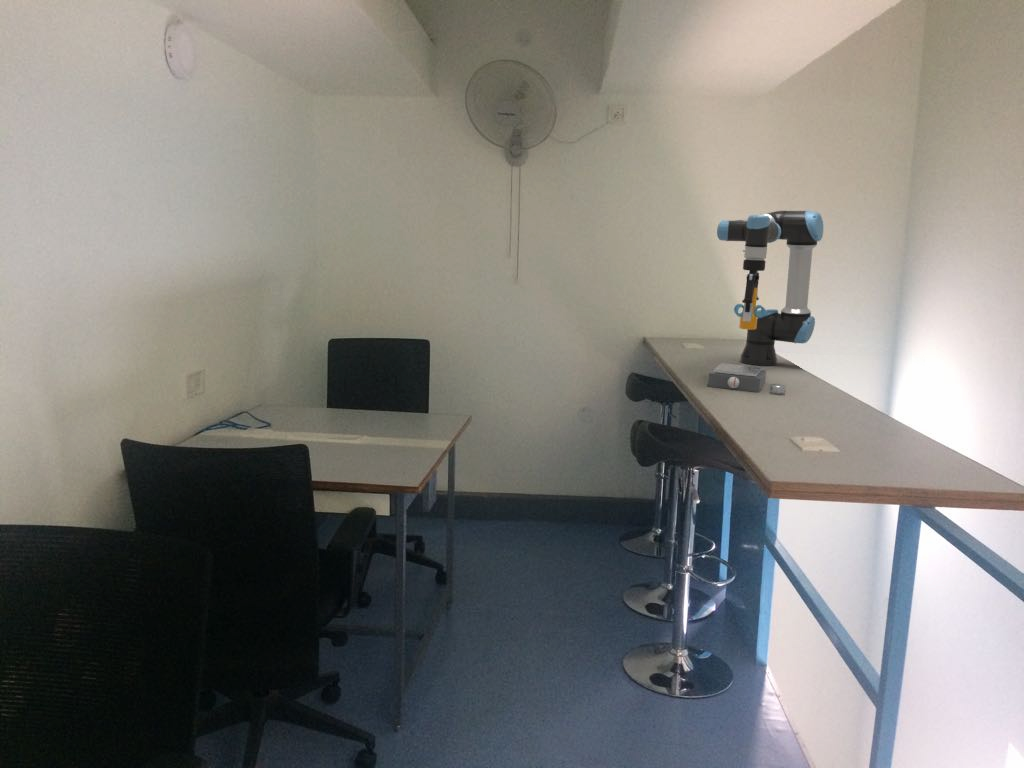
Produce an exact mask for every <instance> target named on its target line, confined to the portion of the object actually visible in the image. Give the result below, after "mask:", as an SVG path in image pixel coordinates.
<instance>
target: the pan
mask: <svg viewBox="0 0 1024 768" xmlns="http://www.w3.org/2000/svg"><path fill="white" fill-rule="evenodd" d="M716 366H717V365H716ZM716 366H715V367H716ZM715 367H714V368H715ZM714 368H713V369H714ZM761 370H763V366H762V367H761V366H755V365H742V364H734V363H733V364H731V363H724V362H723V363H721V362H720V364H719V366H717V367H716V368H715V369H714V372H717V373H727V374H736V375H745V376H755V377H757V376H758V374H759V373H760V372H761Z"/></svg>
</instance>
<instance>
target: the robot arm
mask: <svg viewBox="0 0 1024 768" xmlns="http://www.w3.org/2000/svg"><path fill="white" fill-rule="evenodd" d="M716 235H717V239H718V240H719V241H725V242H745V244H744V249H743V250H742V252H743V253H744V254H743V256H744V258H745V259H743V263H742V269H743V270H744V271H748V272H749V273H747V275H746V283H745V293H744V298H743V299H742V303H741V304H743V303H744V304H743V306H744V312H743V321H749V322H751V313H752V299H753V293H754V288H755V287H757V288H758V286H759V280H760V273H759V272H763V271H765V270H766V259H767V253H768V244H771V243H774V242H776V241H777V240H782V241H783V240H785V241H786V246H787V247H788V249H789V256H788V257H789V258H788V271H787V272H788V273H787V282H786V296H785V306H784V307H783V308H782V309H781V311H780V312H779V310H778V309H765V310H766V314H765V316H764V317H762V318H758V317H757V328H756V329H754V330H748V329H746V330H747V331H746V343H745V346H744V348H743V349H742V353H741V354H740V359H739V360H740V362H741V363H742V364H747V365H751V366H764V367H765V366H766V367H767V366H776V365H777V363H778V362H777V361H778V357H777V354H776V348H775V343H776V341H777V342H785V343H794V344H806V343H807V342H809V341H810V339H811V337H812V336H813V333H814V330H815V326H816V318H815V317H814V316H813V315H811V312H812V311H811V310H810V309H809V308H808V307H809V306H808V304H809V303H808V301H809V293H810V292H809V290H810V283H811V282H810V281H811V268H812V256H813V250H814V248H816V247H817V245H818V242H821V241H822V239H823V235H824V221H823V217H822V215H821V213H820V212H818V211H816V210H815V211H814V210H813V211H812V210H776V211H772V212H767V213H761V214H751V215H749V216H748V217H747V218H743V219H737V220H729V219H728V220H721V221H719V223H718V225H717V229H716ZM758 290H759V289H758ZM758 290H757V293H759V291H758ZM759 300H760V299H759V296H758V295H757V300H756V301H759ZM760 313H761V309H757V314H760ZM762 315H763V314H762Z"/></svg>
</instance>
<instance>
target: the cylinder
mask: <svg viewBox="0 0 1024 768" xmlns="http://www.w3.org/2000/svg"><path fill="white" fill-rule="evenodd" d="M757 290H759V289H758V288H757V287H755V288H754V293H753V299H752V313H751V322H749V321H743V312H744V304H743V303H738V304H736V305H735V306H734V308H733V311H734V314H735V315H736V316H737V317H740V318H739V327H738V328H739V329H742V330H747V329H748V330H754V329H756V328H757V317H758V318H762V317H764V316H765V314H766V310H767V309H766V308H765V307H764V306H763V305H761V304H757V301H758V300H757V296H758V292H757ZM740 308H742V312H740V313H739V309H740ZM757 310H761V313H760V314H757ZM762 314H763V315H762Z"/></svg>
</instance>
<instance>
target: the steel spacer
mask: <svg viewBox="0 0 1024 768" xmlns="http://www.w3.org/2000/svg"><path fill="white" fill-rule="evenodd" d="M769 387H770V389H769V394H771V395H776V396H785V394H786V389H787V388H786V385H784V384H780V383H772V384H770V386H769Z"/></svg>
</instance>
